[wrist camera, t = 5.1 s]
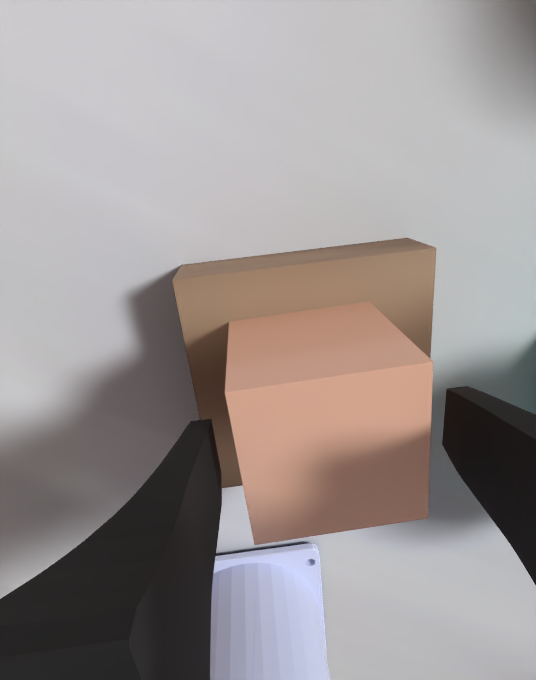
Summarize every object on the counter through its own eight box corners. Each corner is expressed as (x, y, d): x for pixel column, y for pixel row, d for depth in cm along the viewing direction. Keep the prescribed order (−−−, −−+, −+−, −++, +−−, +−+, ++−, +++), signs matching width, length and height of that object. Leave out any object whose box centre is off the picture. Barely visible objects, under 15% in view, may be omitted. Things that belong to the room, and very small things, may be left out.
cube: (373, 419, 16) (427, 518, 11) (249, 438, 16) (254, 545, 11) (368, 301, 14) (433, 361, 9) (229, 321, 14) (224, 392, 9)
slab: (398, 420, 20) (424, 460, 17) (217, 444, 20) (214, 489, 17) (402, 236, 16) (436, 247, 14) (183, 262, 16) (171, 279, 13)
